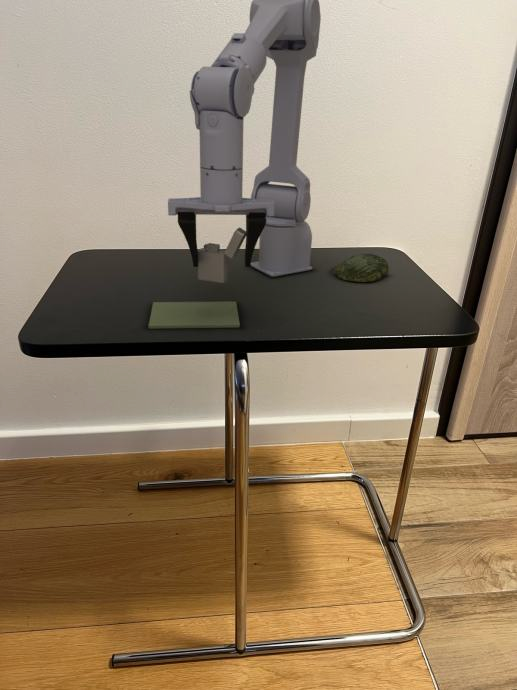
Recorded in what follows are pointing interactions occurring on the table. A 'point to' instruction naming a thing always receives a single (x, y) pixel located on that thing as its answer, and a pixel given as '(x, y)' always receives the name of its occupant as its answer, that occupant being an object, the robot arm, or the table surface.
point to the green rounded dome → (362, 268)
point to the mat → (194, 315)
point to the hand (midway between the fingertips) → (221, 264)
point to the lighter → (218, 258)
